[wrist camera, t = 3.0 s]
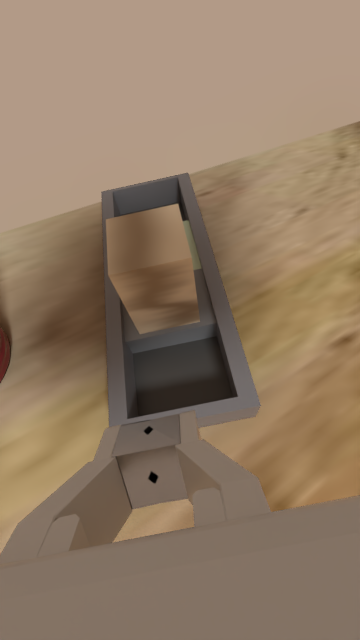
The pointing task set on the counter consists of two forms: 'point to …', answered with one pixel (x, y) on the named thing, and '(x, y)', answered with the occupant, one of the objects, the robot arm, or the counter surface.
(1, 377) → the canister
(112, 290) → the box
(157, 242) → the block
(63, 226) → the counter surface
